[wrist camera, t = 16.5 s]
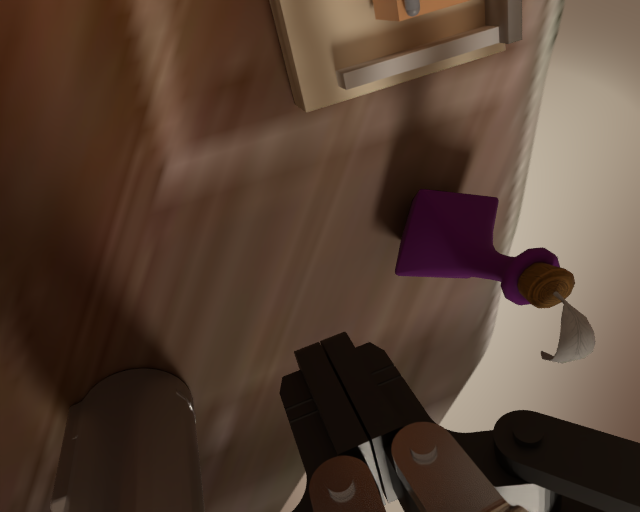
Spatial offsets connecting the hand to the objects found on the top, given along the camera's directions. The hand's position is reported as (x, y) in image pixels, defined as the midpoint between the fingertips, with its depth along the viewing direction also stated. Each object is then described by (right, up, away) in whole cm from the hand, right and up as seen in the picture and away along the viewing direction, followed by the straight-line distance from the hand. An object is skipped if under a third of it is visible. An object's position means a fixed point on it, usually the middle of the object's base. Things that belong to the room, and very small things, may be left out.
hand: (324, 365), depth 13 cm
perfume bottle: (+9, +6, +29) cm, 31 cm away
